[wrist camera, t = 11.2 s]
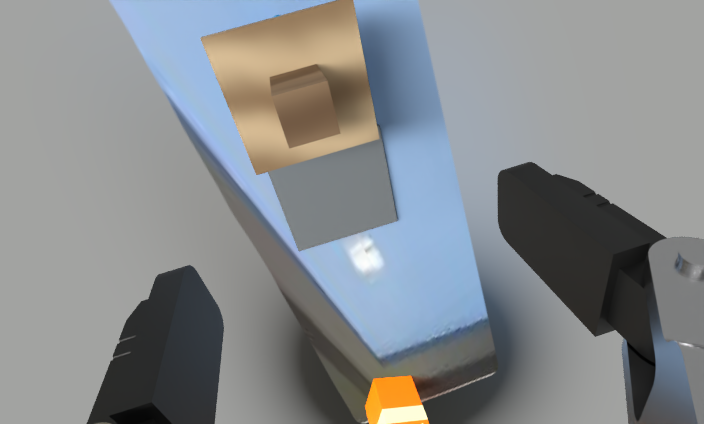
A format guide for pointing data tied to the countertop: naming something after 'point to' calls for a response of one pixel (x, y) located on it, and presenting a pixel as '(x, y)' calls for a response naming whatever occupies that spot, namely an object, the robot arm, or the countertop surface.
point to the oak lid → (296, 84)
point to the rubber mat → (336, 194)
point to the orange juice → (394, 402)
